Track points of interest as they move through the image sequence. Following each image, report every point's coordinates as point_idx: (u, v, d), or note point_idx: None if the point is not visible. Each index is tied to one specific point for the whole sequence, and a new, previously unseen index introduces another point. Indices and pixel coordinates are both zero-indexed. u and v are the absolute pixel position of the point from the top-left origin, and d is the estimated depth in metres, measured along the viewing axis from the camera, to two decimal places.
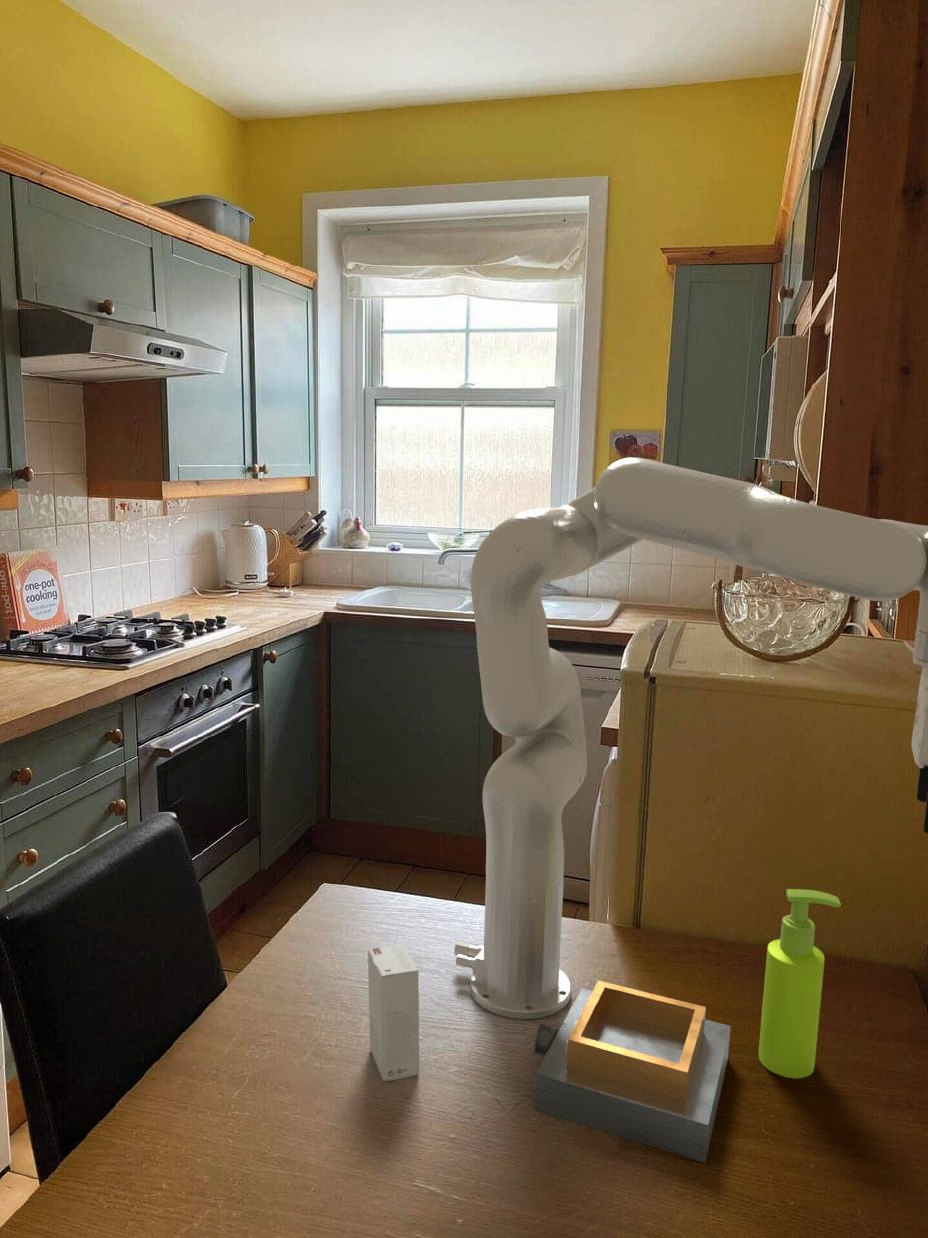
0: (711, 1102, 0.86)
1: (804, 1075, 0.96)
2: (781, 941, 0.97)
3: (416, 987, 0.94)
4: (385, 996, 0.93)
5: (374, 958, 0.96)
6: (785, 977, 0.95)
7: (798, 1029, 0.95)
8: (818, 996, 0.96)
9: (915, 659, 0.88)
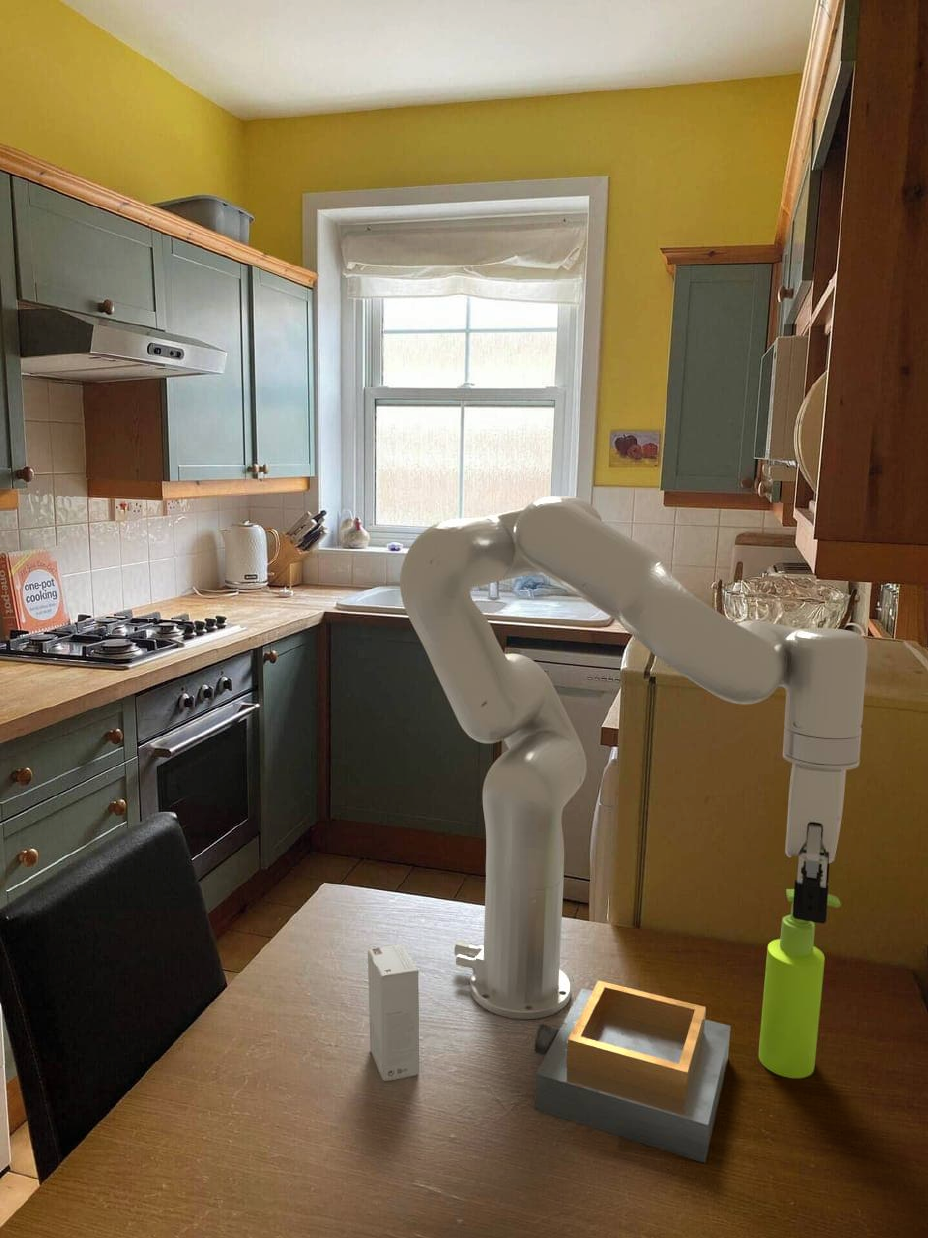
0: (711, 1102, 0.86)
1: (804, 1075, 0.96)
2: (781, 941, 0.97)
3: (416, 987, 0.94)
4: (385, 996, 0.93)
5: (374, 958, 0.96)
6: (785, 977, 0.95)
7: (798, 1029, 0.95)
8: (818, 996, 0.96)
9: (783, 753, 0.94)
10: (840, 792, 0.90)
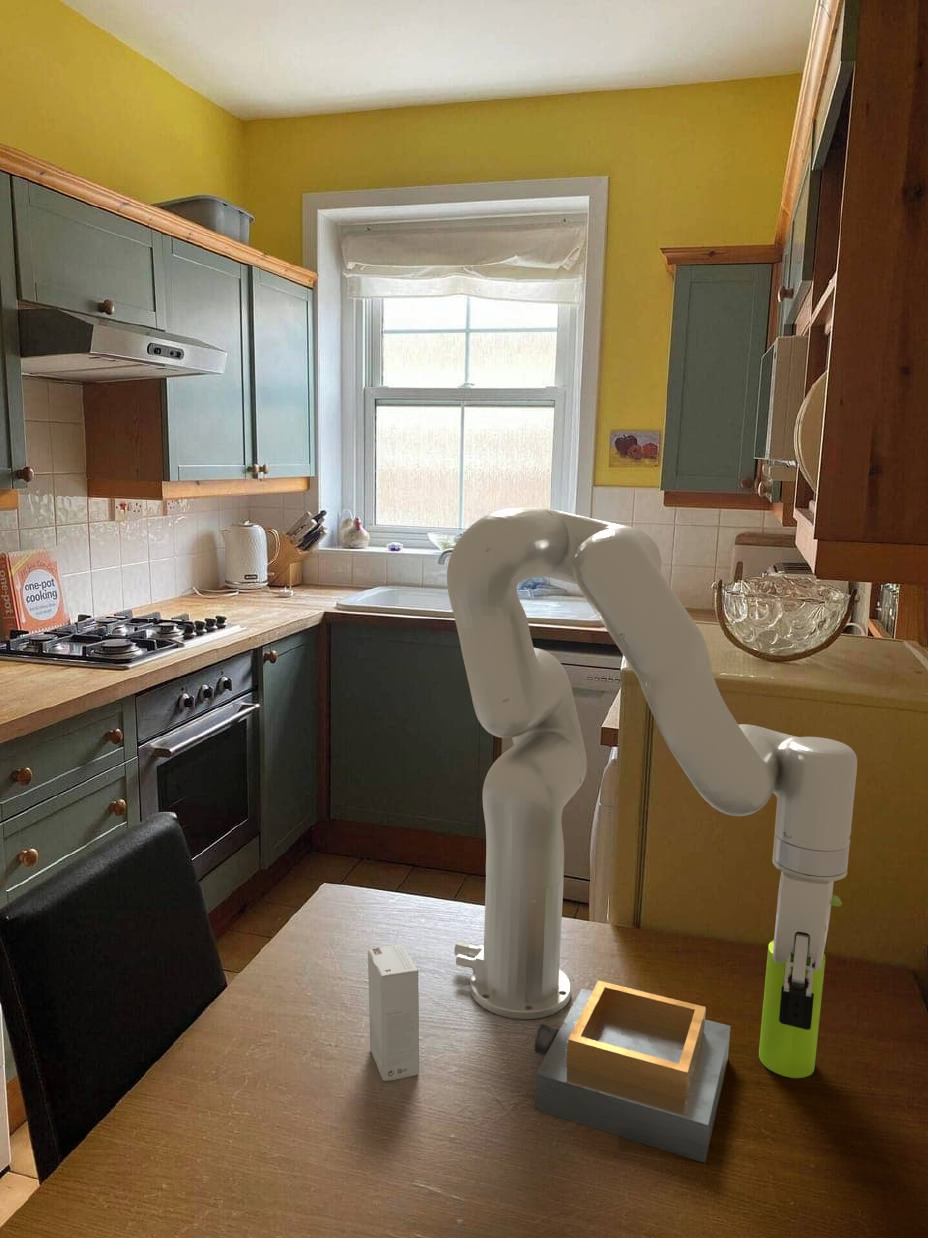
0: (711, 1102, 0.86)
1: (804, 1075, 0.96)
2: None
3: (416, 987, 0.94)
4: (385, 996, 0.93)
5: (374, 958, 0.96)
6: None
7: (799, 1029, 0.95)
8: (819, 995, 0.96)
9: (773, 859, 0.96)
10: (827, 903, 0.92)
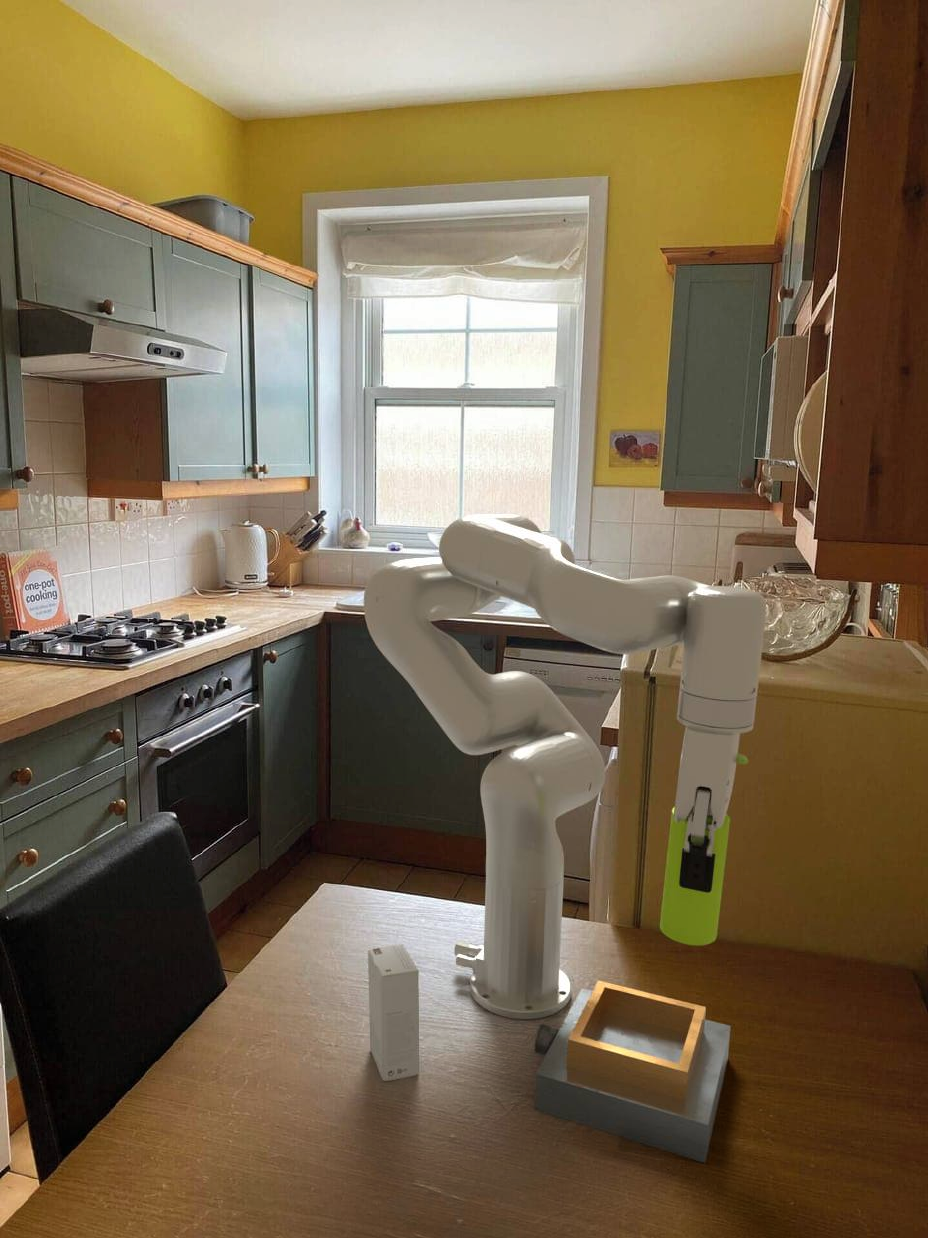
0: (711, 1102, 0.86)
1: (705, 942, 0.92)
2: None
3: (416, 987, 0.94)
4: (385, 996, 0.93)
5: (375, 958, 0.96)
6: None
7: (700, 893, 0.91)
8: (722, 858, 0.91)
9: (677, 715, 0.91)
10: (731, 756, 0.86)
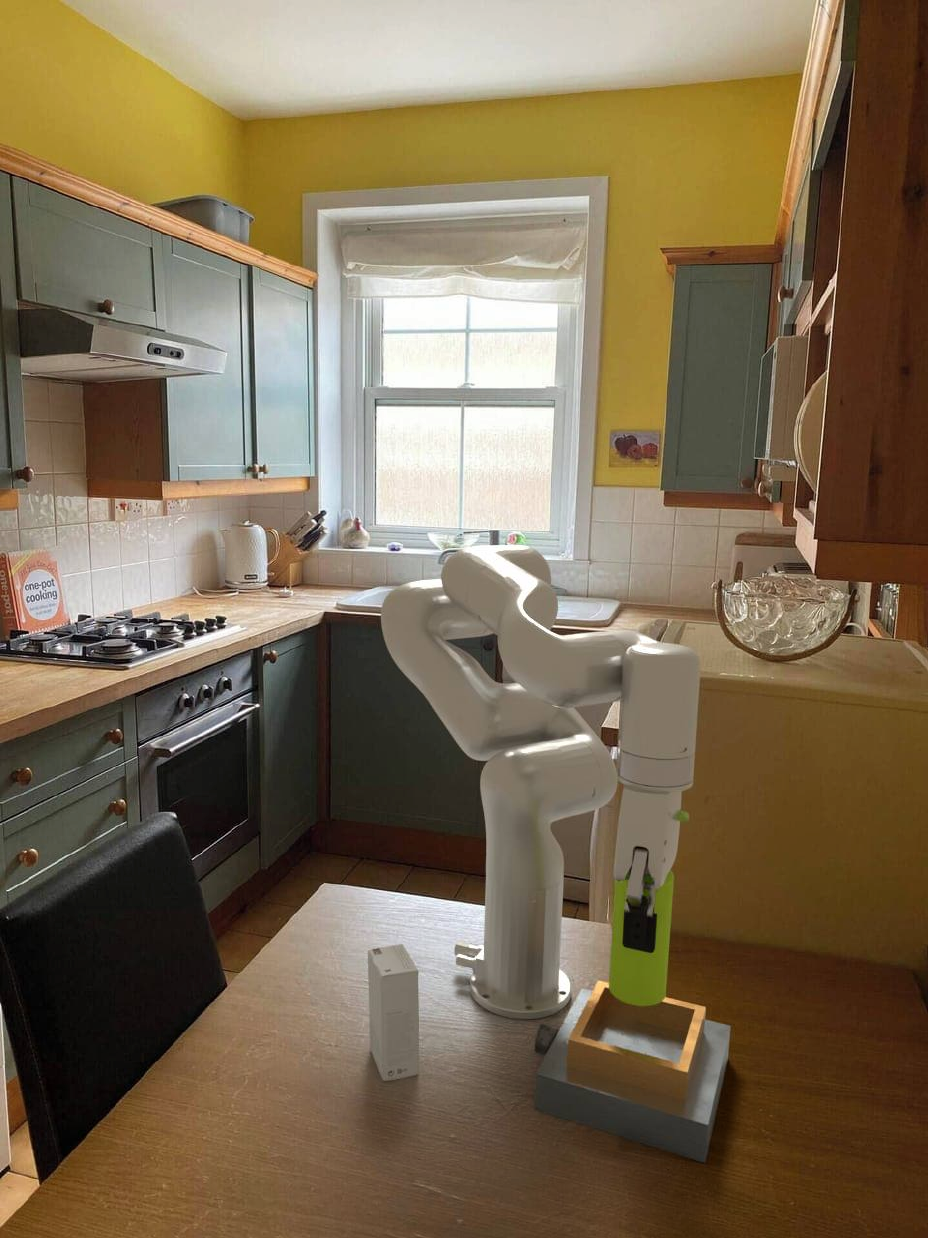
0: (711, 1102, 0.86)
1: (652, 1003, 0.91)
2: None
3: (416, 987, 0.94)
4: (385, 996, 0.93)
5: (374, 958, 0.96)
6: None
7: (644, 953, 0.90)
8: (666, 917, 0.90)
9: (617, 773, 0.90)
10: (667, 815, 0.86)
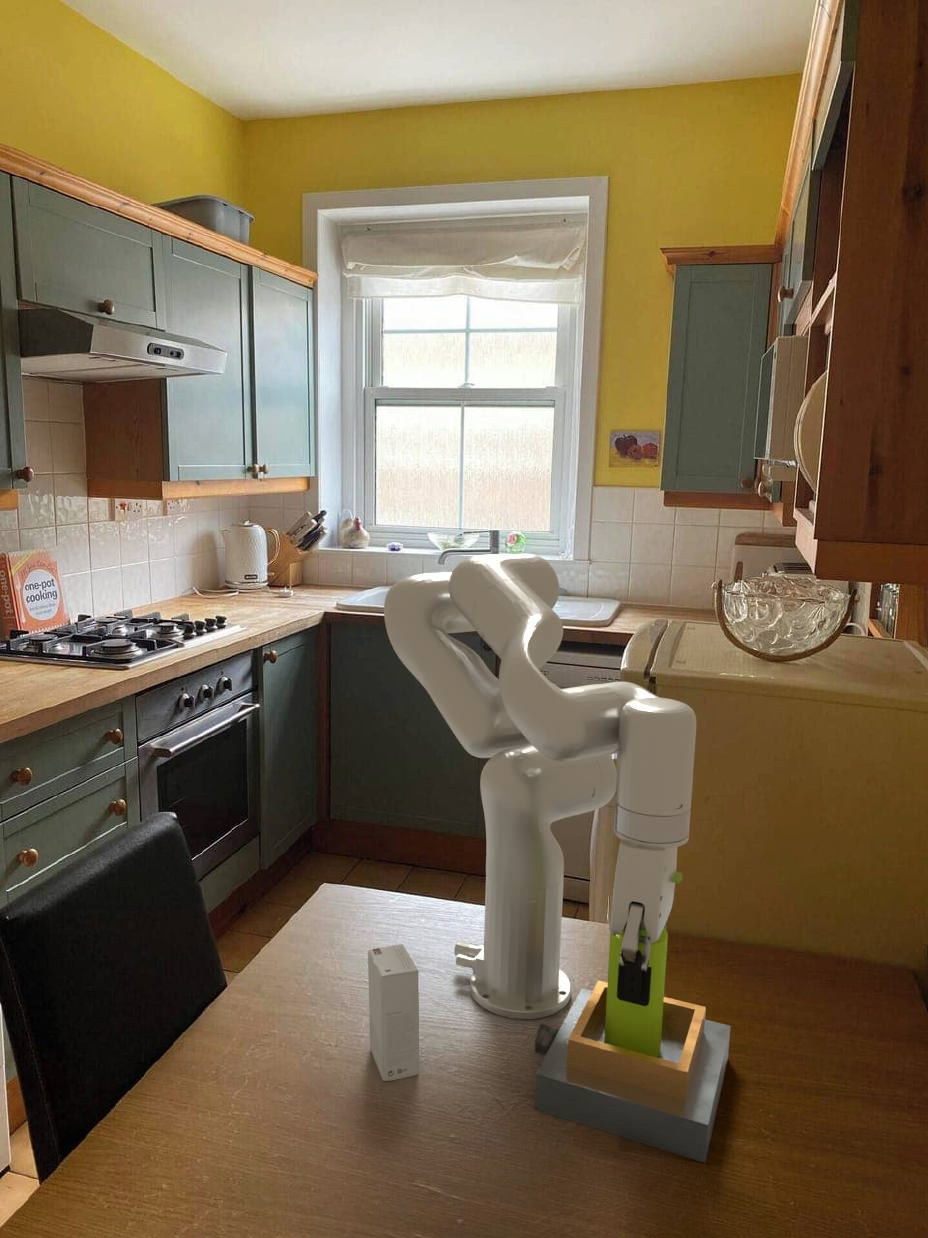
0: (711, 1102, 0.86)
1: None
2: None
3: (416, 987, 0.94)
4: (385, 996, 0.93)
5: (374, 958, 0.96)
6: None
7: (639, 1011, 0.91)
8: (660, 976, 0.91)
9: (614, 826, 0.91)
10: (663, 871, 0.87)
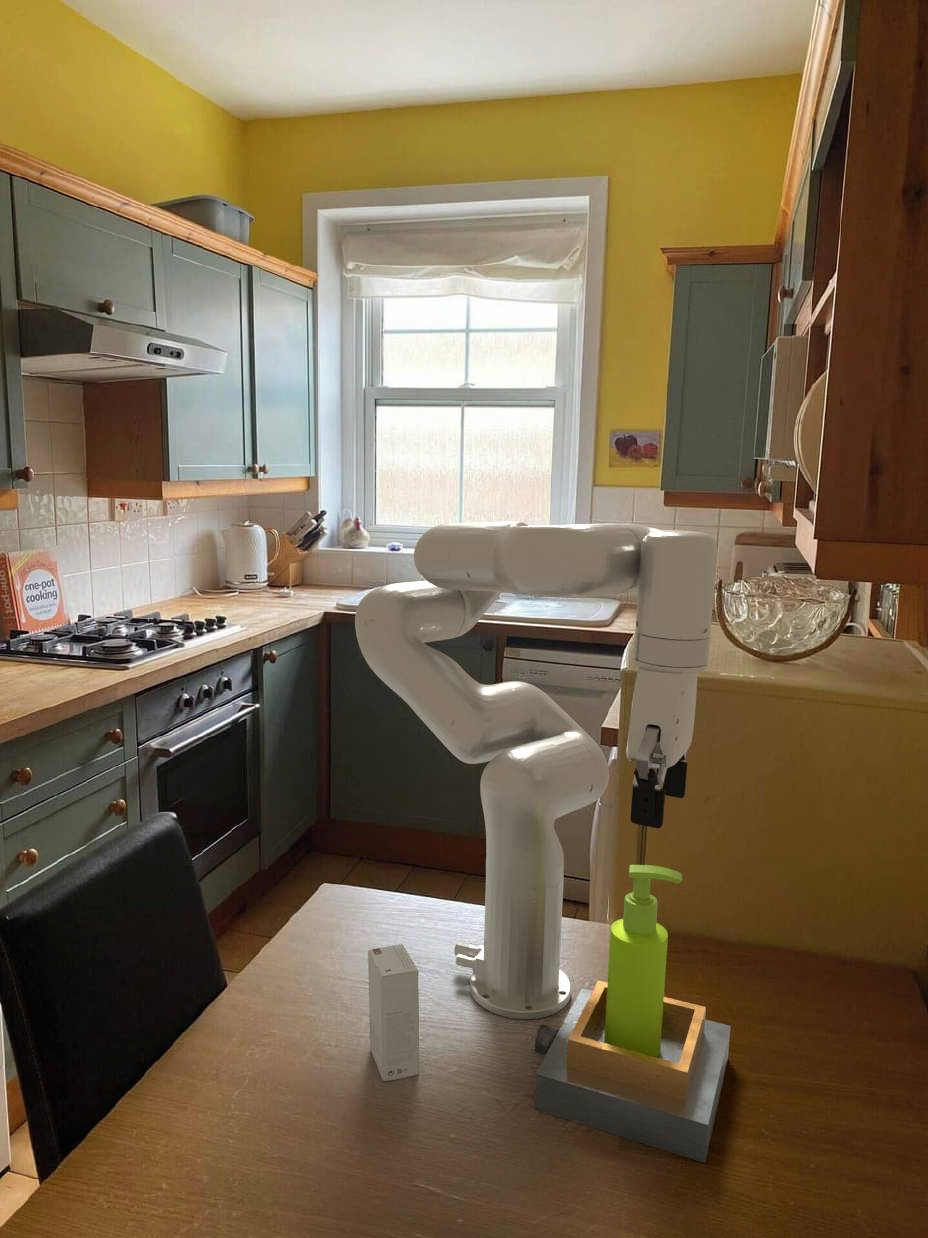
0: (711, 1102, 0.86)
1: None
2: (624, 919, 0.92)
3: (416, 987, 0.94)
4: (385, 996, 0.93)
5: (374, 958, 0.96)
6: (624, 956, 0.91)
7: (639, 1011, 0.91)
8: (660, 976, 0.91)
9: (633, 657, 0.92)
10: (680, 695, 0.88)
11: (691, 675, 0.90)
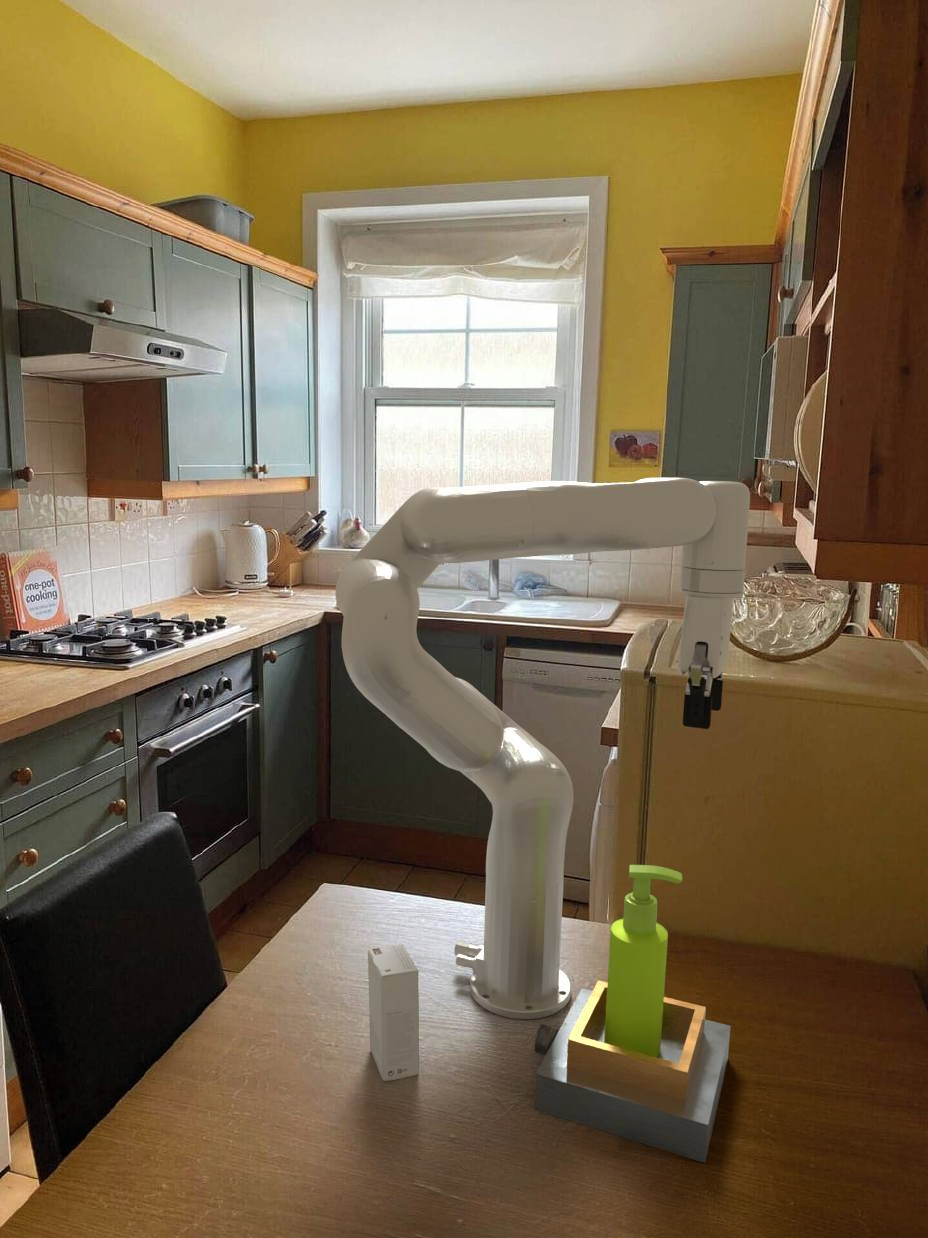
0: (711, 1102, 0.86)
1: None
2: (624, 919, 0.92)
3: (416, 987, 0.94)
4: (385, 996, 0.93)
5: (374, 958, 0.96)
6: (624, 956, 0.91)
7: (639, 1011, 0.91)
8: (660, 976, 0.91)
9: (680, 589, 1.10)
10: (723, 616, 1.06)
11: (730, 601, 1.08)
